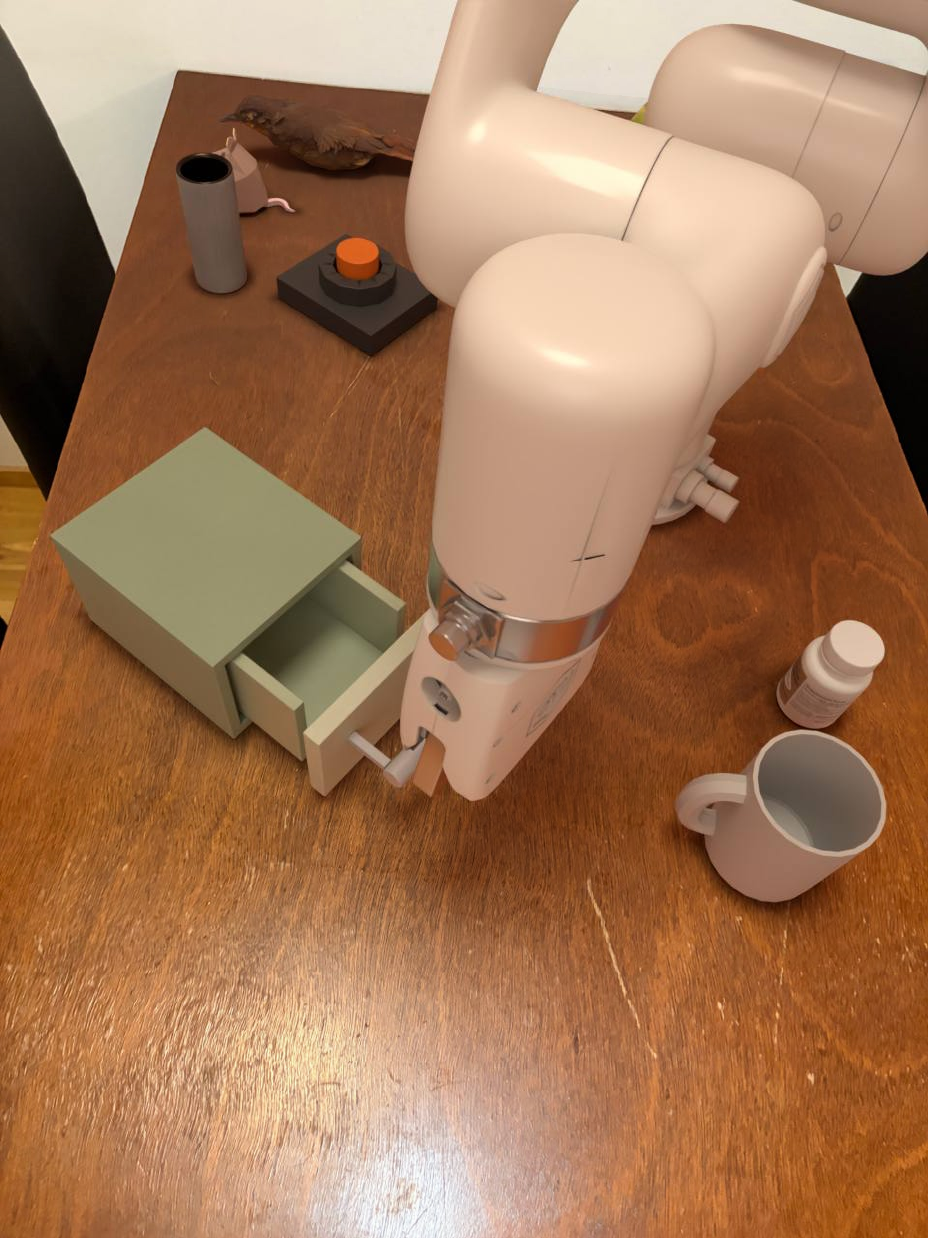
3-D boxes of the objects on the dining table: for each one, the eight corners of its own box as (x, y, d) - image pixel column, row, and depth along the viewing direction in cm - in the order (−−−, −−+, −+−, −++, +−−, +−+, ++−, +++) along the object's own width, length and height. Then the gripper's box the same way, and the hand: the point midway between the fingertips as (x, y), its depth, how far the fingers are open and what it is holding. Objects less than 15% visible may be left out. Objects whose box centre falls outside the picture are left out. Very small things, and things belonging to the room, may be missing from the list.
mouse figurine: (287, 227, 85) (281, 158, 79) (206, 212, 85) (194, 142, 80) (302, 196, 88) (297, 128, 82) (223, 182, 88) (213, 113, 82)
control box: (437, 307, 80) (440, 269, 77) (371, 356, 76) (371, 317, 73) (346, 254, 83) (345, 214, 80) (278, 298, 79) (274, 258, 76)
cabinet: (363, 618, 62) (361, 536, 54) (234, 739, 56) (212, 667, 48) (224, 515, 65) (204, 426, 58) (90, 619, 60) (49, 534, 52)
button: (387, 268, 77) (387, 250, 76) (359, 286, 75) (359, 268, 74) (356, 250, 78) (355, 232, 77) (328, 268, 76) (327, 249, 75)
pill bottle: (789, 662, 63) (837, 601, 56) (847, 696, 62) (903, 637, 55) (764, 706, 61) (811, 647, 54) (823, 742, 59) (878, 686, 53)
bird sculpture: (459, 211, 93) (471, 165, 89) (212, 157, 87) (213, 106, 83) (457, 177, 97) (468, 131, 93) (220, 123, 91) (221, 72, 87)
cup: (818, 916, 53) (892, 870, 45) (653, 881, 53) (699, 829, 46) (814, 803, 57) (881, 744, 49) (660, 771, 57) (703, 707, 50)
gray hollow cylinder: (186, 284, 79) (163, 172, 71) (212, 256, 82) (194, 145, 73) (231, 299, 79) (214, 189, 70) (256, 271, 81) (243, 161, 72)
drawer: (489, 714, 57) (503, 657, 51) (377, 841, 52) (378, 793, 46) (300, 574, 62) (292, 506, 56) (180, 677, 57) (157, 615, 51)
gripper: (486, 763, 29) (445, 916, 44) (705, 507, 37) (605, 714, 52) (318, 636, 31) (333, 824, 47) (556, 418, 39) (502, 642, 54)
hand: (476, 766), depth 49 cm, fingers closed
